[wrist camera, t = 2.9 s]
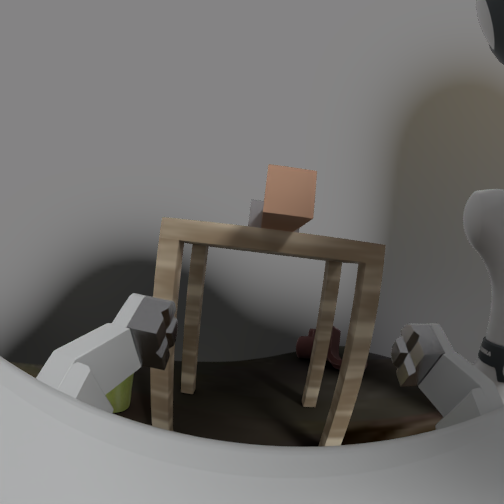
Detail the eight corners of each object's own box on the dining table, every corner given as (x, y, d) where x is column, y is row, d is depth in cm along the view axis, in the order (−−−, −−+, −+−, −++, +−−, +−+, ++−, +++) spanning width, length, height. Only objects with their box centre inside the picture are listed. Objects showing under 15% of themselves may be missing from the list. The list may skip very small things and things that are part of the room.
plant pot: (117, 382, 37) (115, 334, 37) (154, 408, 32) (154, 356, 32) (70, 394, 28) (64, 341, 29) (103, 428, 24) (95, 370, 24)
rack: (334, 459, 24) (385, 245, 25) (153, 440, 25) (162, 217, 25) (312, 401, 40) (339, 249, 41) (183, 386, 41) (197, 231, 41)
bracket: (363, 369, 49) (367, 323, 54) (292, 365, 59) (298, 324, 63) (368, 370, 54) (372, 329, 58) (303, 367, 63) (308, 330, 68)
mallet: (336, 221, 16) (340, 160, 16) (237, 209, 16) (246, 147, 16) (291, 241, 38) (294, 213, 38) (248, 236, 38) (252, 208, 38)
